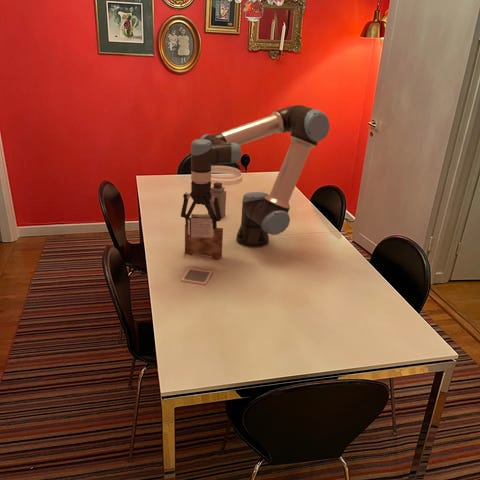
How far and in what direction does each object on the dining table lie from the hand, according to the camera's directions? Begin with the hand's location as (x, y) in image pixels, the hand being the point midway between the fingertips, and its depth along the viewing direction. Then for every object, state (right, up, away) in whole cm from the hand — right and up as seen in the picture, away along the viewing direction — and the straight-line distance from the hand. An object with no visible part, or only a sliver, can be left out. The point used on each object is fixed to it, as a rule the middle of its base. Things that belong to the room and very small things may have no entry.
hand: (201, 234), depth 188 cm
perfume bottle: (+3, +10, +55) cm, 56 cm away
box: (0, -1, 0) cm, 1 cm away
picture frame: (-1, -17, -4) cm, 17 cm away
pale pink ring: (+3, +37, +114) cm, 120 cm away
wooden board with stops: (0, -8, +15) cm, 17 cm away
